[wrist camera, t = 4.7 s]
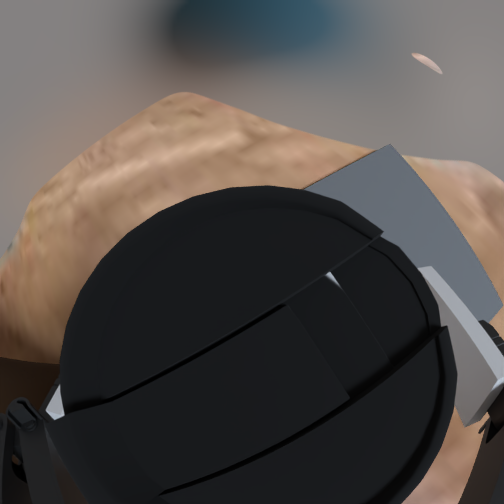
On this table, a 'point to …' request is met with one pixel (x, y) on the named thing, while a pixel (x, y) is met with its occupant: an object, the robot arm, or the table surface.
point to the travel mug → (254, 359)
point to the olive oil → (25, 382)
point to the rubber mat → (413, 223)
